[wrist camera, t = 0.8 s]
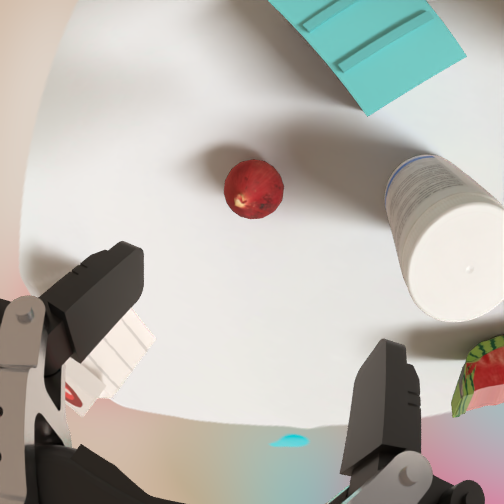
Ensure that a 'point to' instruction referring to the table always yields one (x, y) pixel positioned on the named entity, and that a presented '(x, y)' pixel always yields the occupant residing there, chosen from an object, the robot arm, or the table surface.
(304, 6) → the lid
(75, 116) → the table surface
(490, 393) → the fruit slice
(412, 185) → the supplement tub
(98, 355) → the pizza boxes
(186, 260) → the table surface
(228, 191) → the red round fruit
